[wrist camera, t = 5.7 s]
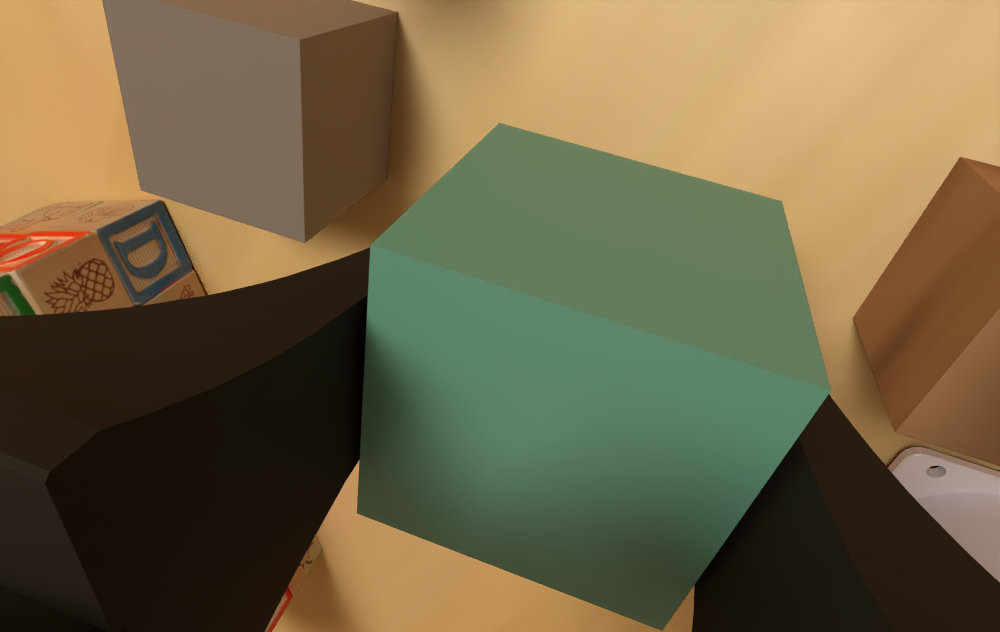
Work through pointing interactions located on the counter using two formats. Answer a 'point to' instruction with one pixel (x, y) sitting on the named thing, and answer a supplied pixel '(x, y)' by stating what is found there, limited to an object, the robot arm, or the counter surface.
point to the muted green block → (582, 368)
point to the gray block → (257, 104)
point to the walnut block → (943, 319)
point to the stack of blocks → (103, 275)
